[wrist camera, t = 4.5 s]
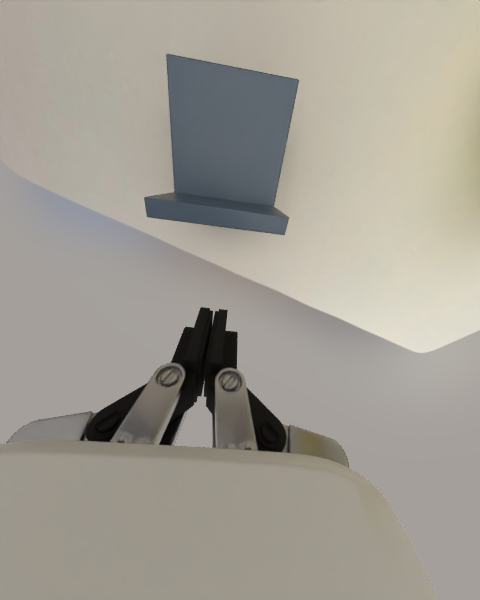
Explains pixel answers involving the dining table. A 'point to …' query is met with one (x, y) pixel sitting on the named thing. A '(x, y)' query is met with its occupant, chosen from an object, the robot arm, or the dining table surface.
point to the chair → (225, 145)
